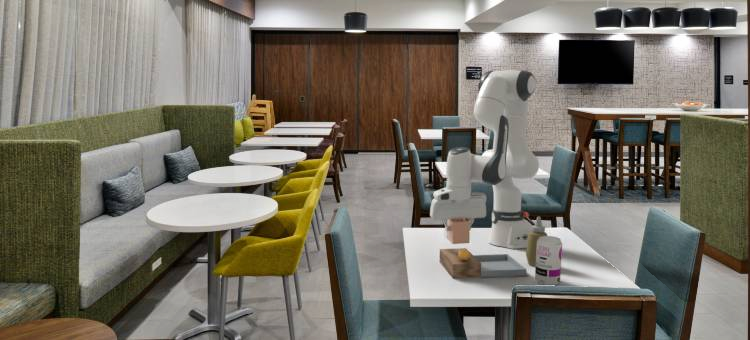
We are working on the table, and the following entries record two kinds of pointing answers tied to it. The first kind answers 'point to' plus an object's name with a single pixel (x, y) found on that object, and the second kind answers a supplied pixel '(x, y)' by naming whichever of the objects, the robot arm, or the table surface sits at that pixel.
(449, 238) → the sleeve
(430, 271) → the table surface
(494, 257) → the tray
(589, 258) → the table surface
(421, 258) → the table surface
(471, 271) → the wooden block
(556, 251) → the supplement can
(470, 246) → the table surface
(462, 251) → the ball
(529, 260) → the squeeze bottle
